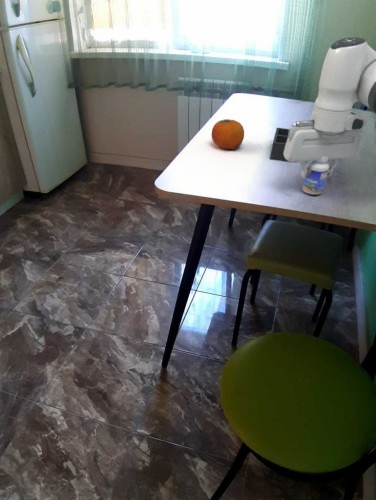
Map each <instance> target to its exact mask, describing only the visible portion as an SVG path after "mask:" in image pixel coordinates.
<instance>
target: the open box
mask: <svg viewBox="0 0 376 500" xmlns="http://www.w3.org/2000/svg"><path fill="white" fill-rule="evenodd" d="M289 129H290V128H283V127H276V129H275V132H274V136H273V140H272V144H271V145H272V146H271V150H270V156H269V160H272V161H279V162H280V161H281V162H288V163H290V162H289V161H288V160H286V159H285V157H284V149H285V145H286V142H287V139H288V133H289ZM295 163H297V162H294V164H295Z"/></svg>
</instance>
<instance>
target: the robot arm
mask: <svg viewBox="0 0 376 500" xmlns="http://www.w3.org/2000/svg"><path fill="white" fill-rule="evenodd" d="M356 103H361V104H362V105H364V106H365V107H367V108H369V109H370V110H371V111H372V112H373V113H375V114H376V50H374V49H373V48H372V47H371V46H370V45H369V44H368V42H367V40H366V39H365V38H363V37H356V36H355V37H345V38H340V39H338V40H336V41H335V42H333V43H331V45H330V47H329V48H328V51H327V52H326V56H325V58H324V60H323V65H322V68H321V73H320V77H319V81H318V94H317V97H316V99H315V101H314V104H313V109H312V112H311V113H312V114H311V118H310V120H303V121H302V120H297V121H295V123H292V125H291V126H290V127H289V128H288V129H289V133H288V139H287V142H286V145H285V149H284V157H285V159H286V160H288V161H289V162H288V163H295V162H296V163H298V164H299V165H300V169H301V172H300V177H301V178H302V179H305V178H306V177H309V174H310V171H309V170H308V169H307V166H308V164H309V162H310V161H317V160H320V159H321V158H322V157H328V161H330V162H329V163H328V164H329V169H328V173H327V177H329V176H332V174H333V171H334V169H335V168H336V167H337V166H338V164H339V163H340V160H343V159H344V160H345V159H355V158H356V157H358V155H359V154H360V152H361V149H362V146H363V143H364V136H365V131H364V129H366V127H367V123H368V121H367V119H365V118H364V117H362V116H360V115H358V114H356V113H354V112H353V111H352V110H353V106H354V105H355V104H356Z"/></svg>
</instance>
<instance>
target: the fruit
mask: <svg viewBox="0 0 376 500" xmlns="http://www.w3.org/2000/svg"><path fill="white" fill-rule="evenodd" d="M244 139H245V129H244V126H243V125H242V124H241V122H239V121H237V120H235V119H228V118H226V119H225V118H224V119H222V120H218V121H217V122H215V124H214V125H213V127H212V129H211V140H212V141H213V143H214V144H215V145H216V146H218V147H219V148H222V149H226V150H234V149H236V148H238V147H240V146H241V145H242V143H243V141H244Z"/></svg>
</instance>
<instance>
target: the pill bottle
mask: <svg viewBox="0 0 376 500" xmlns="http://www.w3.org/2000/svg"><path fill="white" fill-rule="evenodd" d="M328 161H329V160H328V157H322V158H321V159H320V160H317V161H309V162H308V165H307V166H306V168H307V169H308V170H309V171H310V174H309V177H306V178H304V181H303V184H302V191H303V192H304V193H306V194H308V195H313V196H314V195H321V194H322V193H323V191H324V188H325V184H326V179H327V177H328V176H327V173H328V169H329V164H330V163H328Z"/></svg>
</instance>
